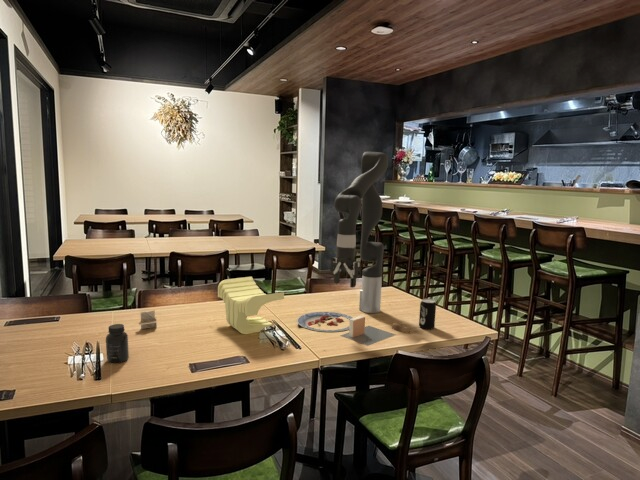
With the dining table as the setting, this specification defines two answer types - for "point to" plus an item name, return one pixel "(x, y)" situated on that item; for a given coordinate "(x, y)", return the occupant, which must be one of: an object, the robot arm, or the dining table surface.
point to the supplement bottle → (117, 344)
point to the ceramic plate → (322, 320)
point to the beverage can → (427, 314)
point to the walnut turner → (401, 327)
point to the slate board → (370, 336)
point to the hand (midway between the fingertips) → (344, 285)
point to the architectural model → (148, 320)
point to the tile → (357, 326)
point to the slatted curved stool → (245, 303)
